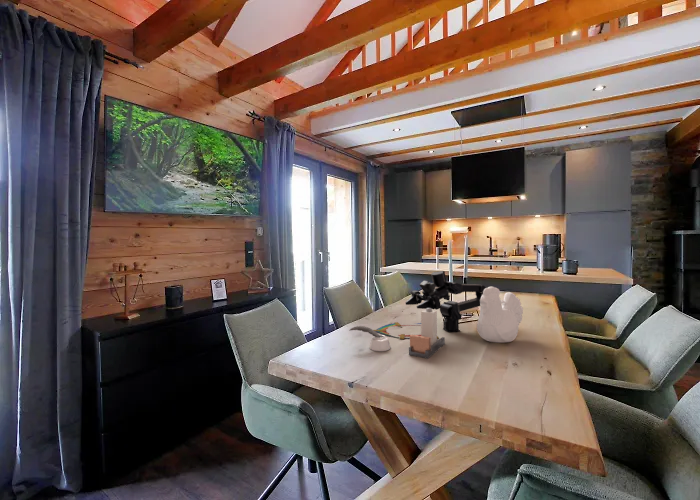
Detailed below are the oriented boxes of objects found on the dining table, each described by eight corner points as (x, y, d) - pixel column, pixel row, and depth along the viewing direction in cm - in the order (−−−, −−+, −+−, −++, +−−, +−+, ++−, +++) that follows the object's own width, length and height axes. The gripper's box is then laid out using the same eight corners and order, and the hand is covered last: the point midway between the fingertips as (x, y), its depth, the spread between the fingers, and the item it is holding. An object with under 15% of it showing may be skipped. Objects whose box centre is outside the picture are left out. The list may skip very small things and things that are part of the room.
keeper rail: (427, 341, 148) (427, 324, 148) (444, 344, 144) (444, 327, 143) (408, 354, 132) (408, 336, 132) (427, 358, 127) (427, 339, 127)
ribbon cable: (374, 340, 152) (438, 339, 151) (374, 338, 152) (438, 337, 151) (371, 324, 181) (425, 323, 180) (371, 322, 181) (425, 321, 180)
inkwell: (393, 350, 137) (392, 327, 137) (351, 354, 134) (350, 330, 134) (387, 343, 146) (387, 321, 146) (347, 346, 143) (347, 324, 143)
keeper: (425, 341, 143) (425, 306, 142) (437, 343, 140) (436, 308, 139) (421, 344, 139) (421, 309, 138) (432, 346, 136) (432, 310, 135)
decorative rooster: (490, 349, 137) (490, 290, 135) (468, 337, 152) (468, 284, 151) (540, 343, 142) (541, 286, 141) (515, 333, 157) (515, 282, 156)
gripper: (421, 276, 167) (396, 286, 161) (446, 281, 150) (419, 292, 144) (426, 297, 169) (401, 307, 163) (451, 303, 151) (424, 315, 146)
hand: (411, 305), depth 154 cm, fingers open, 9 cm apart
